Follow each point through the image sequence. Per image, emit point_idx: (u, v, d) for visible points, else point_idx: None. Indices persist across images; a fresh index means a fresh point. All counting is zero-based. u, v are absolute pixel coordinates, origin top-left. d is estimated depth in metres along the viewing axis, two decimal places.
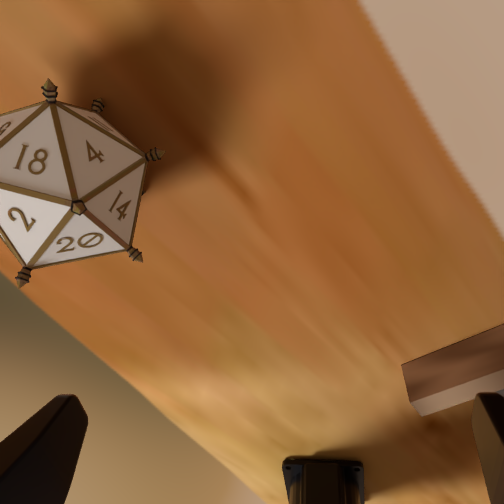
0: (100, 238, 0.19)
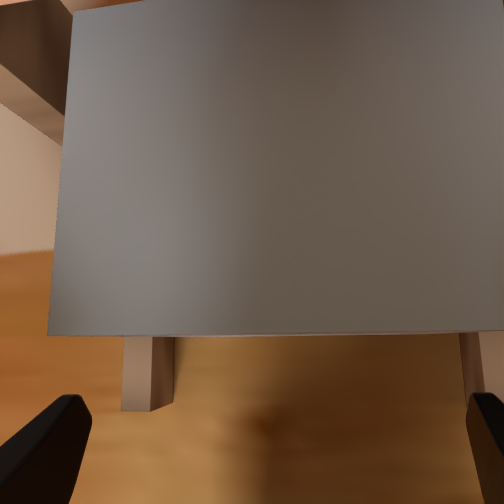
0: None
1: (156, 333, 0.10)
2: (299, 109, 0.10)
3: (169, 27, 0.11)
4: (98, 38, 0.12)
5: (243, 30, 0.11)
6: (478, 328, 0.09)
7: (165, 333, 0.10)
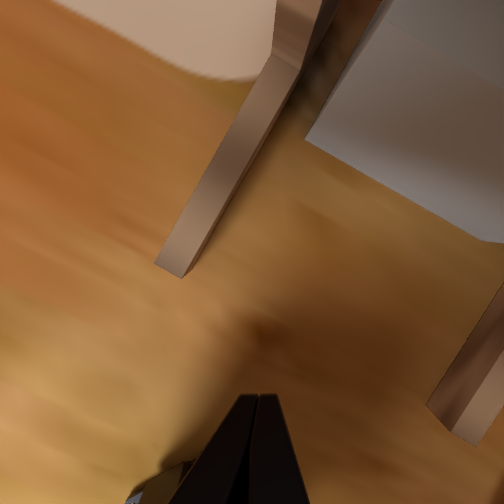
0: None
1: (499, 86, 0.09)
2: None
3: None
4: None
5: None
6: None
7: None
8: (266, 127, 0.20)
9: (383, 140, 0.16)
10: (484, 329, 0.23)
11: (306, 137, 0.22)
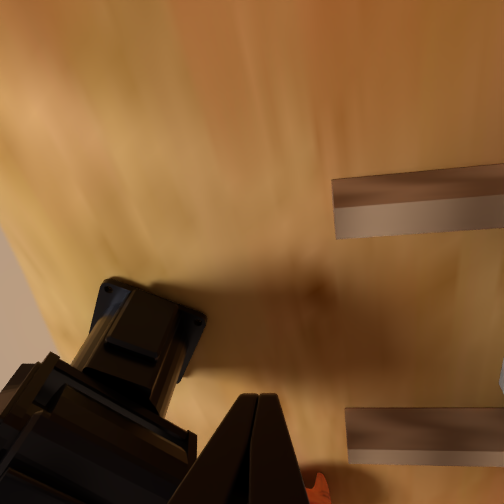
0: None
1: None
2: None
3: None
4: None
5: None
6: None
7: None
8: None
9: None
10: (429, 419, 0.27)
11: None
